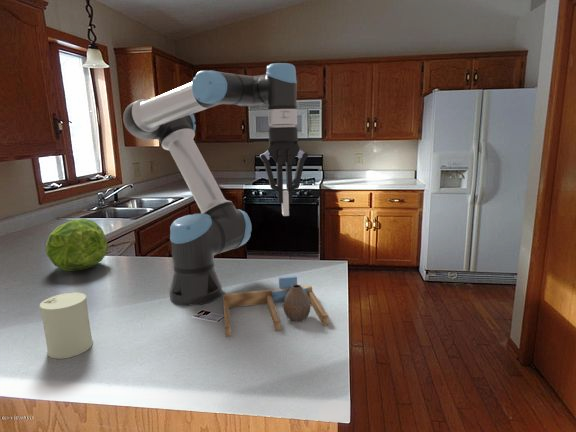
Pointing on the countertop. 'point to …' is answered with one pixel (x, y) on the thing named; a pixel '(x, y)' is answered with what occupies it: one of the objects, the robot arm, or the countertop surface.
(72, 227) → the lettuce
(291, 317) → the vase
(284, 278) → the tab
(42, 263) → the countertop surface
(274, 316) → the rack
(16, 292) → the countertop surface
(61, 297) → the can
